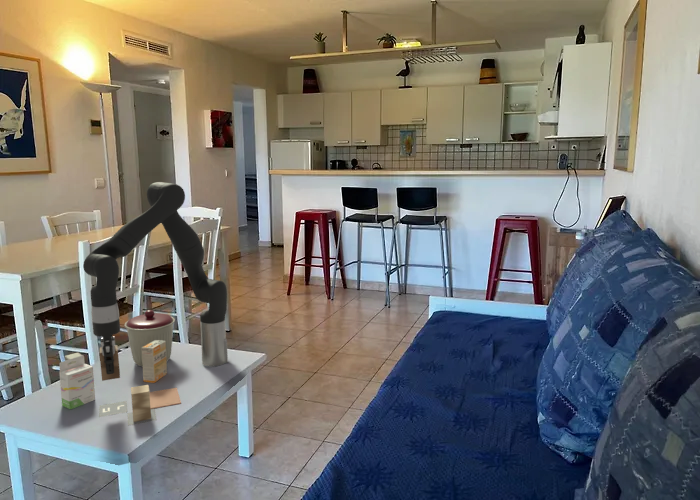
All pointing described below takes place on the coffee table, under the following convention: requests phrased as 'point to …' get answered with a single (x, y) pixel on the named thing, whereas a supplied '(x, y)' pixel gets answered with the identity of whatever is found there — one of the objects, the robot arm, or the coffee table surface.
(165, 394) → the coaster
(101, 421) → the coffee table surface
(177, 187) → the robot arm
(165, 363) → the supplement box
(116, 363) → the walnut block
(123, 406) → the code tile
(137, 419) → the oak block
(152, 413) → the code tile
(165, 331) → the canister
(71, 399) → the ink box
